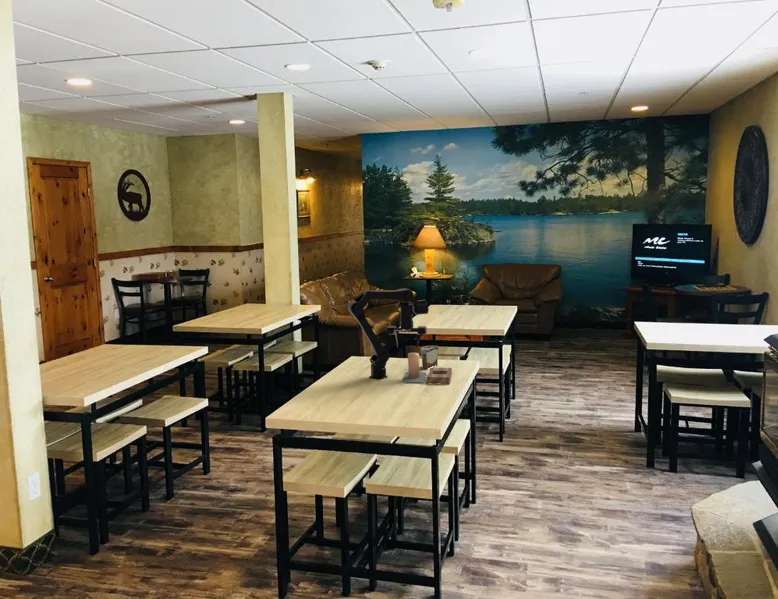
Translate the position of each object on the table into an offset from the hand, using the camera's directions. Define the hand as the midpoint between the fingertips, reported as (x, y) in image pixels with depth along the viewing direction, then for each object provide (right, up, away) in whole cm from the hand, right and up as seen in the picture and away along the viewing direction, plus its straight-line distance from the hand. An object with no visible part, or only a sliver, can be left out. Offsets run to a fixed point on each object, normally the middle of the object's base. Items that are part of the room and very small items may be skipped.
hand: (406, 347), depth 313 cm
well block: (+15, -14, -7) cm, 22 cm away
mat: (+3, -14, -5) cm, 15 cm away
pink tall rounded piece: (+3, -13, -5) cm, 14 cm away
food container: (+11, -11, +16) cm, 22 cm away
